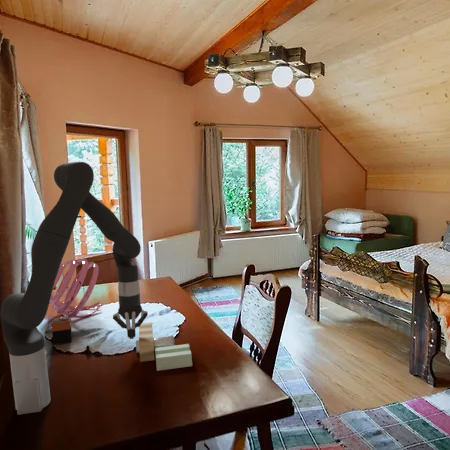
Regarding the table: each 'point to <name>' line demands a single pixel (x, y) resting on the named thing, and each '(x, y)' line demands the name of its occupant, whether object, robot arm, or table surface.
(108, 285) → the table surface
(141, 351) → the beam
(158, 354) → the v block
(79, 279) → the spiral basket
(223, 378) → the table surface
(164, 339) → the pale grey long bar
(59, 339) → the battery
